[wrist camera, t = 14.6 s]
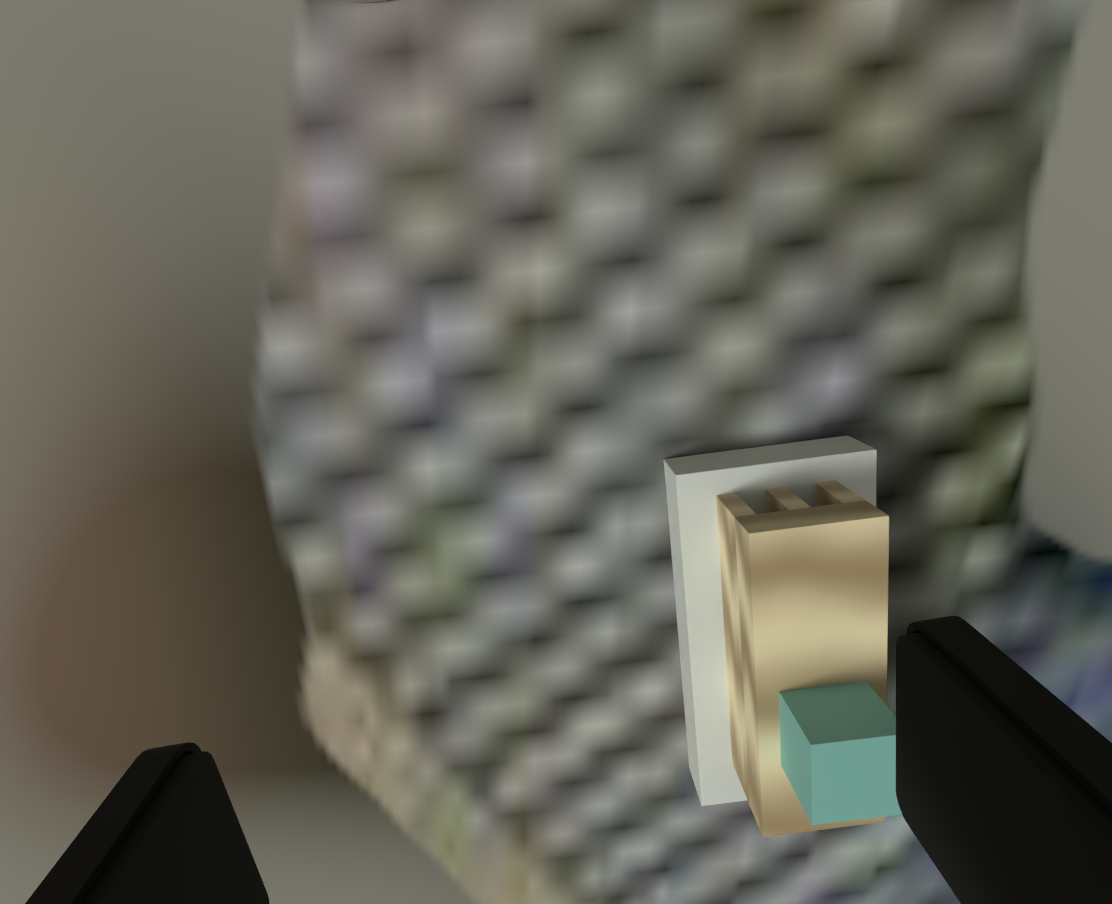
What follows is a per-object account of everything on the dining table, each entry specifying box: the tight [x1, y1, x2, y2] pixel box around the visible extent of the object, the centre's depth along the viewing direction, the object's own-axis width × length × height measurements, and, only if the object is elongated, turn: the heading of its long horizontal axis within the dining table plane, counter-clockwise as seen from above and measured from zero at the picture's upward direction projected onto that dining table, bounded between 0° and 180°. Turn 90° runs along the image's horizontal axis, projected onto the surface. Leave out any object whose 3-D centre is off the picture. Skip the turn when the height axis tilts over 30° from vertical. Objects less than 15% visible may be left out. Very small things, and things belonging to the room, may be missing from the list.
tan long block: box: [716, 480, 889, 837], centre depth 32 cm, size 16×6×5 cm, turn 7°
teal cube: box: [779, 681, 902, 825], centre depth 28 cm, size 4×4×4 cm
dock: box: [664, 435, 877, 806], centre depth 36 cm, size 20×10×3 cm, turn 7°
